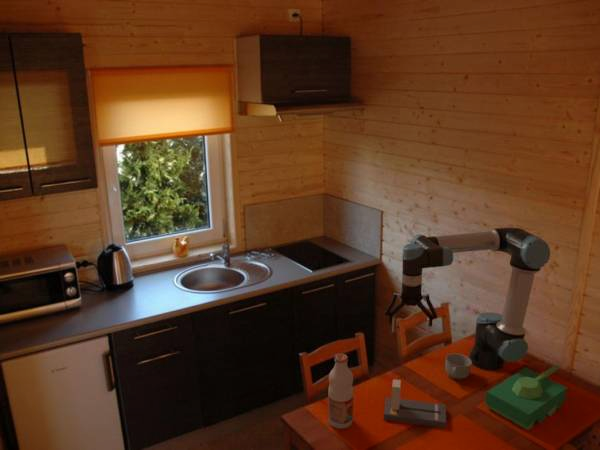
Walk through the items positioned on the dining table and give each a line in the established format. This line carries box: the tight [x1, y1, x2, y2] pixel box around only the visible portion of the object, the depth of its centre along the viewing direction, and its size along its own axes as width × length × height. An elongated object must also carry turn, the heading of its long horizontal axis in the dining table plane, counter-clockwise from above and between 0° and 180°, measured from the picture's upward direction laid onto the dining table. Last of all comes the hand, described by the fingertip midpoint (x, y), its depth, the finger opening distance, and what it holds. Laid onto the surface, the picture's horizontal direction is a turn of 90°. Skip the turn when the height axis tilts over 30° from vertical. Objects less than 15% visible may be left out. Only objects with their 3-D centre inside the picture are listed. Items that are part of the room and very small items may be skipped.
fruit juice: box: [327, 353, 354, 430], centre depth 201 cm, size 9×9×28 cm
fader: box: [391, 379, 402, 410], centre depth 208 cm, size 3×5×10 cm, turn 167°
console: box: [383, 396, 447, 429], centre depth 208 cm, size 23×11×3 cm, turn 77°
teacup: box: [444, 352, 473, 380], centre depth 231 cm, size 14×11×8 cm
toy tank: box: [485, 364, 568, 431], centre depth 212 cm, size 18×12×35 cm
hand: (410, 332), depth 215 cm, fingers open, 13 cm apart
